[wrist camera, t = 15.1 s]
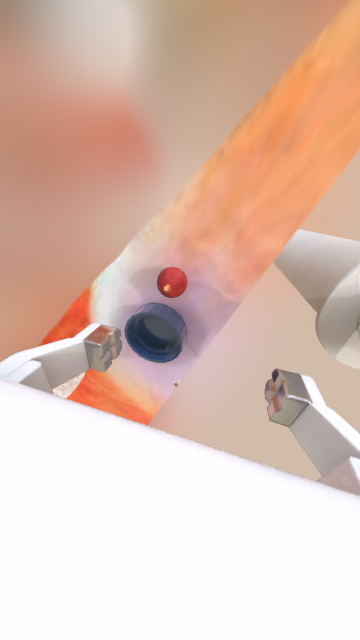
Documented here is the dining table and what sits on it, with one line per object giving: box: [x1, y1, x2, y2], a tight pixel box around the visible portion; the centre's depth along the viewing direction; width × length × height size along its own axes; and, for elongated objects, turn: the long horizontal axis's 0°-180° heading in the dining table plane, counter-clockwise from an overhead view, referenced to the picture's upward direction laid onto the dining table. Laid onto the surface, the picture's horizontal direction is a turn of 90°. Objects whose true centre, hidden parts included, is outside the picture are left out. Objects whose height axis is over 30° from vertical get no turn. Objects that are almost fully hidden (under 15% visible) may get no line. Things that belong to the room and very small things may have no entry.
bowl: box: [125, 303, 187, 363], centre depth 44 cm, size 14×14×5 cm
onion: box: [157, 267, 187, 298], centre depth 35 cm, size 6×6×8 cm
